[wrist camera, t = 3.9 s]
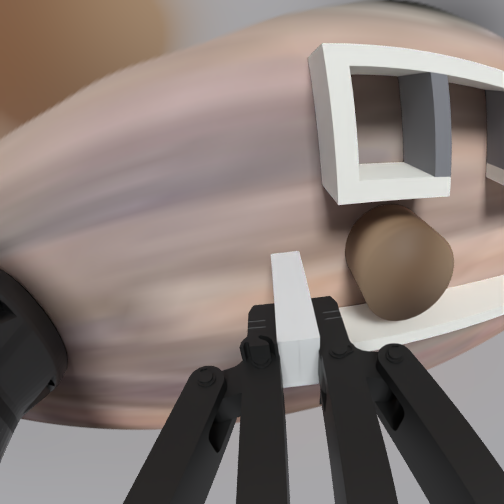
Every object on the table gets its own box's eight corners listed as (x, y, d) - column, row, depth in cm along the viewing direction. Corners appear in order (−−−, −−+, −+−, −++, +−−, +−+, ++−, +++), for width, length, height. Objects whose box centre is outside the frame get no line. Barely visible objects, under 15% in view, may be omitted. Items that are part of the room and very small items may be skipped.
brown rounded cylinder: (344, 288, 19) (360, 328, 15) (344, 207, 16) (367, 237, 13) (417, 276, 18) (442, 311, 15) (425, 200, 16) (461, 226, 12)
